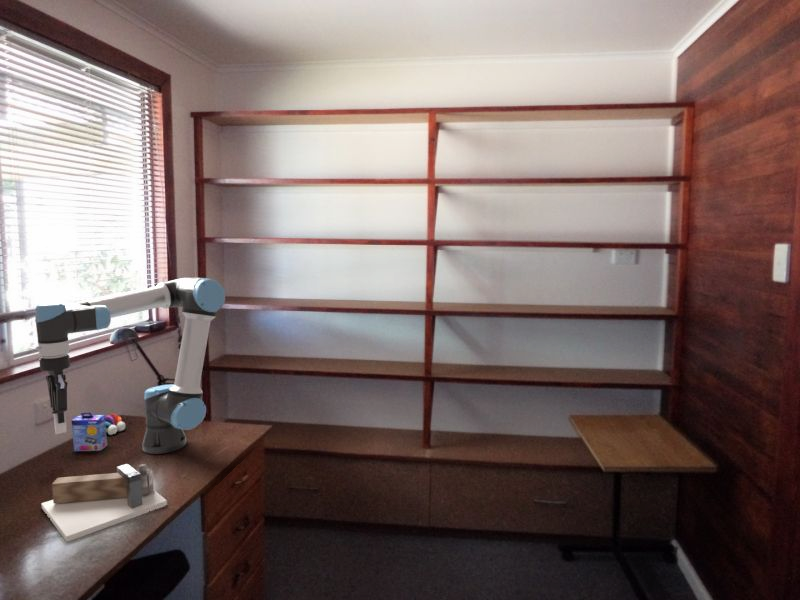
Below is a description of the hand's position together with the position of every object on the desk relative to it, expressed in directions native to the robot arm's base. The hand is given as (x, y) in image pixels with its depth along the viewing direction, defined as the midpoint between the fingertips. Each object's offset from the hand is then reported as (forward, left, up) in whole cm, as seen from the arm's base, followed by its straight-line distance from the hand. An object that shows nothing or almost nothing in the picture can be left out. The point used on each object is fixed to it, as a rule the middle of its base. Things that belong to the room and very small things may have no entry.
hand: (61, 432), depth 160 cm
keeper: (-12, +20, -20) cm, 31 cm away
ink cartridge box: (-17, -36, -21) cm, 44 cm away
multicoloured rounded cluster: (-28, -48, -21) cm, 60 cm away
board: (-6, +15, -20) cm, 26 cm away
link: (-7, +12, -18) cm, 23 cm away
